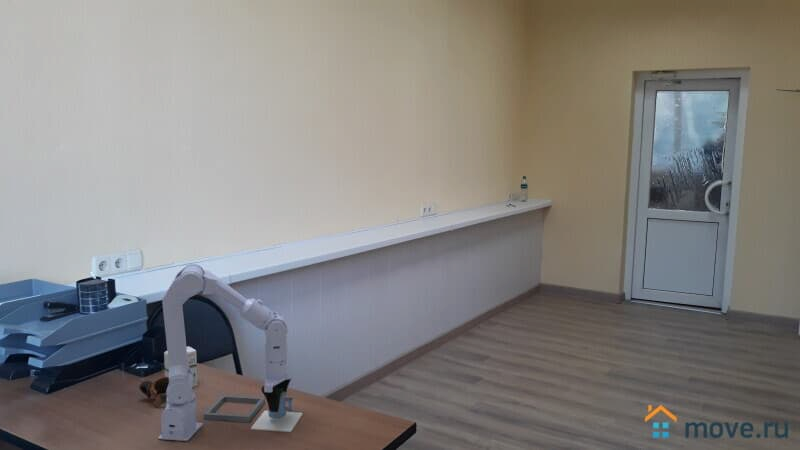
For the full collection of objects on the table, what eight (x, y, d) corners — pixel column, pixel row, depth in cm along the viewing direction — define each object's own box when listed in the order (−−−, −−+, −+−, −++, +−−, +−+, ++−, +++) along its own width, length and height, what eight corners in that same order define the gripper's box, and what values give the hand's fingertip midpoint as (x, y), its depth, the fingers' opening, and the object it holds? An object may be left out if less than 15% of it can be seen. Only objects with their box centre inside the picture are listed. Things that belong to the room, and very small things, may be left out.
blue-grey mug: (265, 417, 170) (265, 396, 169) (271, 410, 175) (271, 389, 174) (289, 419, 169) (289, 398, 168) (294, 411, 174) (294, 391, 173)
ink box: (171, 393, 191) (170, 355, 189) (164, 388, 194) (163, 351, 193) (198, 385, 197) (197, 349, 195) (191, 381, 200) (189, 345, 199)
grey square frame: (249, 422, 172) (249, 417, 172) (203, 419, 173) (203, 414, 173) (265, 402, 185) (265, 397, 184) (222, 400, 186) (222, 395, 186)
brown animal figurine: (183, 394, 191) (185, 376, 187) (172, 419, 184) (174, 401, 179) (143, 385, 190) (145, 367, 186) (130, 410, 182) (131, 392, 178)
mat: (291, 432, 166) (291, 430, 166) (250, 429, 168) (250, 427, 168) (302, 414, 177) (302, 412, 177) (264, 411, 178) (264, 410, 178)
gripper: (282, 369, 162) (283, 419, 164) (298, 351, 177) (298, 397, 178) (256, 368, 163) (257, 418, 165) (274, 350, 177) (274, 395, 179)
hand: (277, 407), depth 172 cm, fingers closed on blue-grey mug, 5 cm apart
